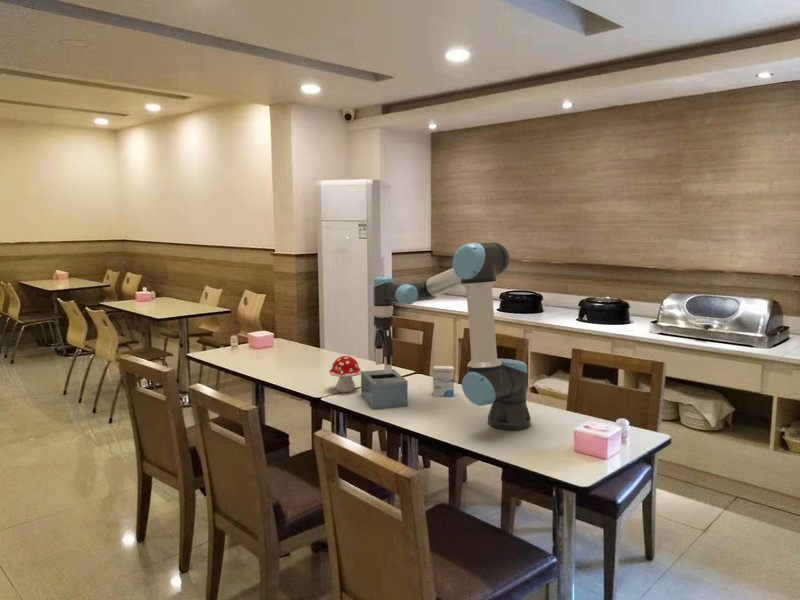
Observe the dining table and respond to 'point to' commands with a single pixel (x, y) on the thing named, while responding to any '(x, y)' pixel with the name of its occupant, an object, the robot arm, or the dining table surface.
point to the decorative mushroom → (345, 373)
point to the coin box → (384, 389)
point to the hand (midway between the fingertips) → (383, 368)
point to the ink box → (443, 381)
